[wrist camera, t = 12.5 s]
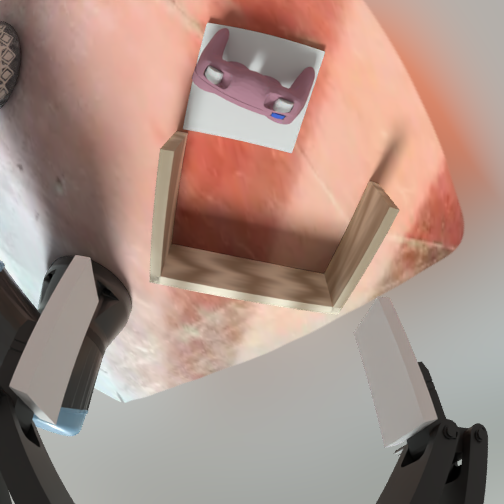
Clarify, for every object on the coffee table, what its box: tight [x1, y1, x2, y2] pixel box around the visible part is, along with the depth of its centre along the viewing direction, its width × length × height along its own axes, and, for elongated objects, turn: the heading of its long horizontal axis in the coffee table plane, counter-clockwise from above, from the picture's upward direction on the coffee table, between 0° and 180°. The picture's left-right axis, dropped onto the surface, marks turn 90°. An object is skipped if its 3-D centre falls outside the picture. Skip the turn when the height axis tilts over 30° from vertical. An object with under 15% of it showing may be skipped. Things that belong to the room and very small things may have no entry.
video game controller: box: [192, 28, 315, 124], centre depth 22 cm, size 10×5×7 cm, turn 64°
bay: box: [150, 131, 399, 315], centre depth 31 cm, size 22×15×6 cm
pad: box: [183, 23, 325, 153], centre depth 25 cm, size 11×11×1 cm
